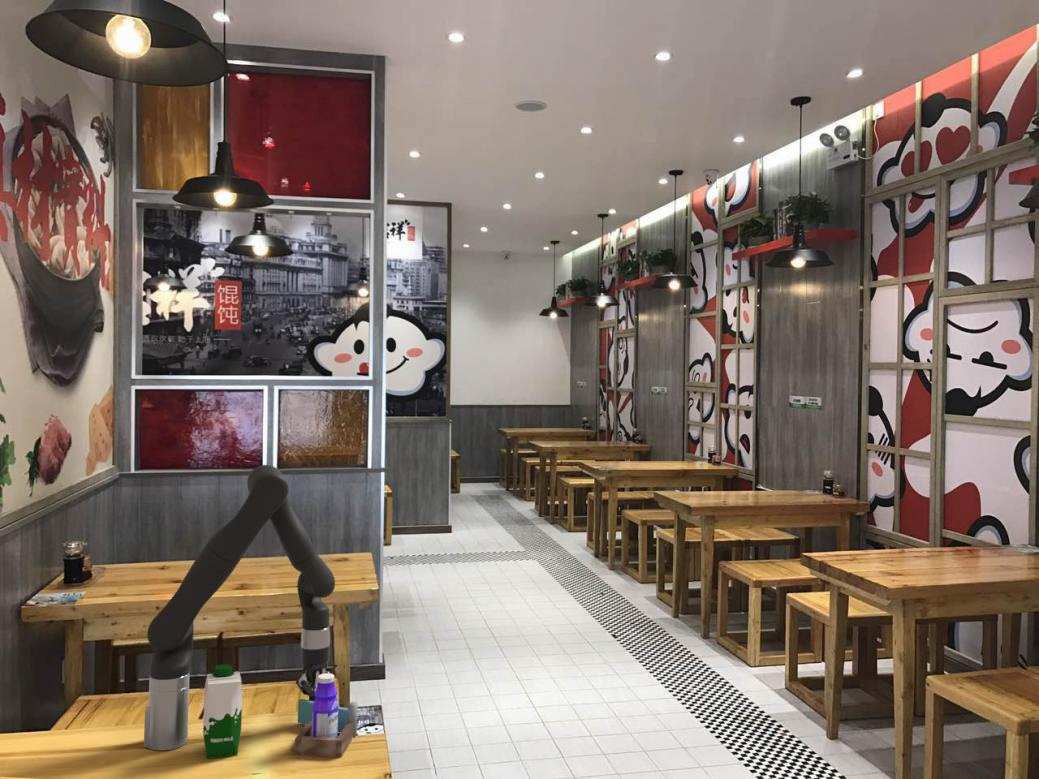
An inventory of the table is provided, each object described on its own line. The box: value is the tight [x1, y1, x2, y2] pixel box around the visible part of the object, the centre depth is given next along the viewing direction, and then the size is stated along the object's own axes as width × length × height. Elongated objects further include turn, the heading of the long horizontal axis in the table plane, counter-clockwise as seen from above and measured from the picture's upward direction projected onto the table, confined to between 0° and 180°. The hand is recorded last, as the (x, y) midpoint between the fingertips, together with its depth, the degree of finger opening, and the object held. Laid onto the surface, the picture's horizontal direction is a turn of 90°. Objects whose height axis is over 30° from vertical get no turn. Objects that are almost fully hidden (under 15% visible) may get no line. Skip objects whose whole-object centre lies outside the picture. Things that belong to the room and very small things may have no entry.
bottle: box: [312, 673, 339, 738], centre depth 205 cm, size 7×6×17 cm
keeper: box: [297, 698, 358, 738], centre depth 215 cm, size 18×2×8 cm, turn 66°
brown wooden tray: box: [294, 721, 354, 758], centre depth 204 cm, size 12×11×4 cm
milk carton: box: [202, 663, 243, 760], centre depth 201 cm, size 9×9×20 cm
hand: (314, 708), depth 220 cm, fingers closed
